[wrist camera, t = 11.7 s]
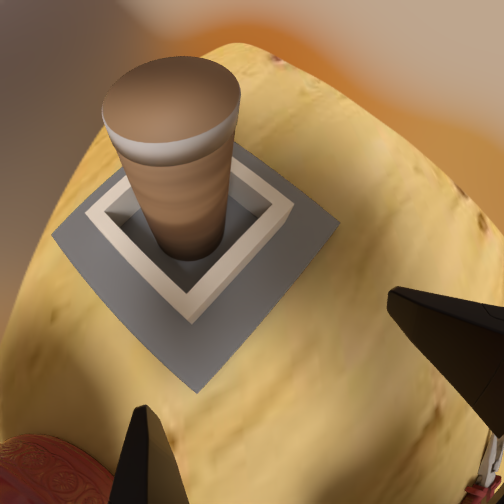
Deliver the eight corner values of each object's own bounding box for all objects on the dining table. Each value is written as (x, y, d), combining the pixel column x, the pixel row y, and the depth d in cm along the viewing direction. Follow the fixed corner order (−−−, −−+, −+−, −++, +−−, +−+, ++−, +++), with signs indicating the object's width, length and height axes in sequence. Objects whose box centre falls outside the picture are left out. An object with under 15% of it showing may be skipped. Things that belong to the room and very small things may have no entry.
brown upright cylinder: (212, 271, 19) (213, 157, 8) (143, 249, 19) (75, 130, 8) (234, 206, 21) (256, 67, 10) (169, 188, 21) (143, 51, 10)
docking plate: (198, 391, 17) (193, 402, 14) (56, 239, 19) (32, 218, 16) (335, 228, 23) (356, 204, 19) (193, 121, 25) (191, 89, 21)
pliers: (515, 414, 19) (530, 415, 16) (468, 541, 12) (479, 546, 9) (465, 430, 18) (482, 432, 16) (407, 570, 11) (418, 579, 9)
